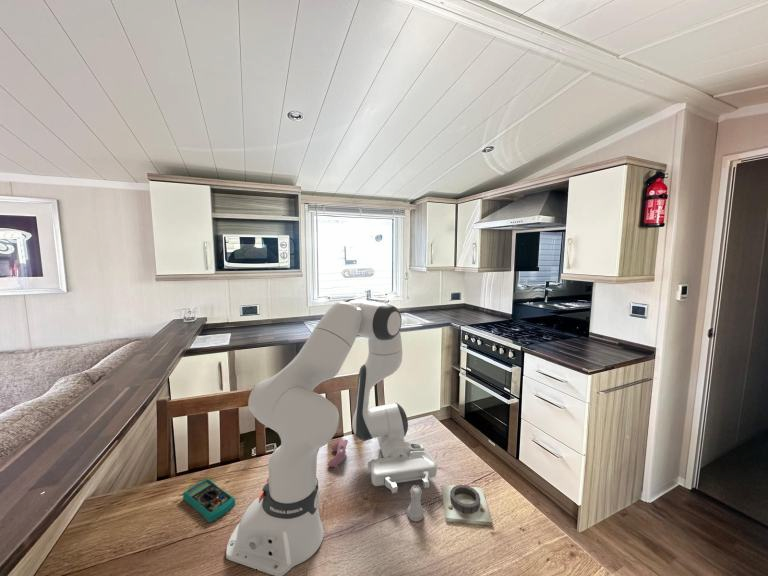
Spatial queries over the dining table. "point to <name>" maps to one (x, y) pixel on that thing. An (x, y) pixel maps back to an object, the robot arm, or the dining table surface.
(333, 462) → the pink irregular piece
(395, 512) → the dining table surface
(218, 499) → the digital multimeter
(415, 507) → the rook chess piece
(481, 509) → the socket block
